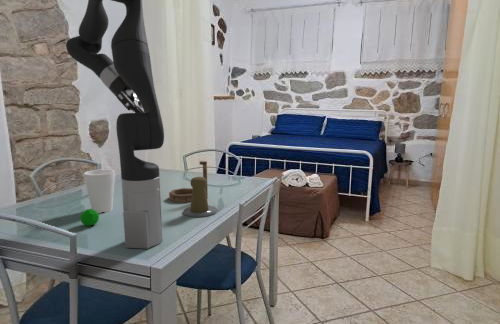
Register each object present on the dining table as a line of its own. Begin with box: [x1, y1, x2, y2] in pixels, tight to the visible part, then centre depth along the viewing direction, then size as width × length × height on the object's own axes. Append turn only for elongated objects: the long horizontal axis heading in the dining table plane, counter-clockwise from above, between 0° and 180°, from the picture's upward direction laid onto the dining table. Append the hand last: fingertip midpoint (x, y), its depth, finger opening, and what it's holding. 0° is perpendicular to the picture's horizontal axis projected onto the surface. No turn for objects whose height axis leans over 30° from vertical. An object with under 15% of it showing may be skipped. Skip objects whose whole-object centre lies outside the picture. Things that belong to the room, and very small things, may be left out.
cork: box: [190, 176, 209, 213], centre depth 117 cm, size 6×6×11 cm
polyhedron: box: [79, 208, 100, 227], centre depth 106 cm, size 5×5×5 cm
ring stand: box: [168, 160, 209, 203], centre depth 133 cm, size 10×14×14 cm
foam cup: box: [83, 168, 116, 214], centre depth 120 cm, size 10×9×13 cm
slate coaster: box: [183, 204, 218, 218], centre depth 118 cm, size 11×11×1 cm
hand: (151, 116), depth 119 cm, fingers open, 8 cm apart
